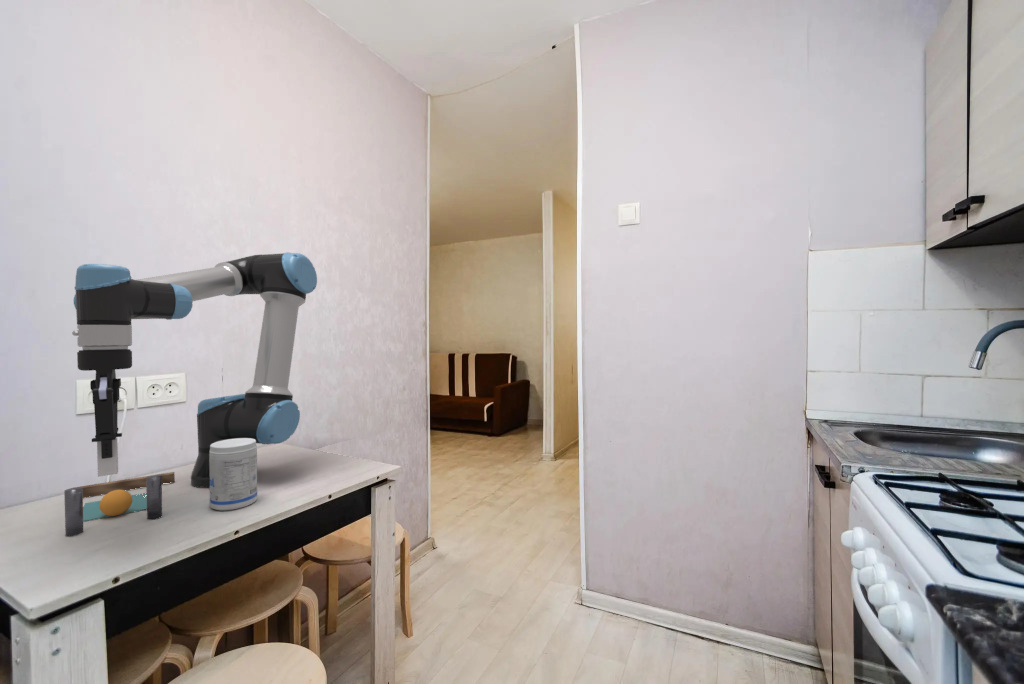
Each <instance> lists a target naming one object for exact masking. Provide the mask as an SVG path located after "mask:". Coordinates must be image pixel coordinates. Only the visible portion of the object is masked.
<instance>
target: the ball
mask: <svg viewBox="0 0 1024 684" xmlns="http://www.w3.org/2000/svg"><path fill="white" fill-rule="evenodd" d="M131 495H132V494H131V493H130V491H125V490H114V491H111V492H109V493H107V494H104V496H103V497H102V498H101V499H100V500H99V501H100V504H99V507H100V510H101V512H102V513H104V514H105V515H108V516H111V517H115V516H120V514H121V515H123V514H122V513H124V512H125V511H127V510H128V509H129V508H130V506H131V504H132V496H131Z"/></svg>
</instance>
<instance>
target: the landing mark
mask: <svg viewBox="0 0 1024 684" xmlns="http://www.w3.org/2000/svg"><path fill="white" fill-rule="evenodd" d="M142 493H143V495H142ZM142 493H138V495H137V493H136V494H131V496H132V504H131V506H130V508H129V509H128V510H127V511H125V512H124V513H122V514H121V515H125V513H126V514H131V513H135V512H134V511H137V512H140V511H139V510H142V511H145V510H144V509H147V496H146V497H145V495H147V493H146V492H142ZM145 493H146V494H145ZM139 494H140V495H139ZM136 495H137V496H136ZM143 496H144V497H145V498H144V497H143ZM100 501H101V500H97V501H92V502H91V501H90V502H86V503H84V504H83V523H85V522H88V521H89V520H90V521H94V519H95V520H99V519H98V518H100V519H105V518H109V516H108V515H105V514H104V513H102V512H101V510H100V507H99V504H100ZM130 512H131V513H130ZM104 517H105V518H104ZM84 521H85V522H84Z"/></svg>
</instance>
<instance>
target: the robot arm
mask: <svg viewBox="0 0 1024 684" xmlns="http://www.w3.org/2000/svg"><path fill="white" fill-rule="evenodd" d="M317 285H318V276H317V271H316V267H314V264H313V262H312V261H311V260H310V259H309V258H308V257H307V256H306V255H305V254H302V253H300V252H299V253H298V252H287V251H286V252H284V253H271V254H269V253H268V254H267V253H266V254H254V255H249V256H245V257H241V258H237V259H232V260H228V261H223V262H218V263H216V264H215V265H214V267H209V268H208V267H207V268H202V269H197V270H196V269H195V270H189V271H183V272H177V273H172V274H171V273H169V274H164V275H163V274H162V275H158V276H150V277H145V278H140V279H139V278H138V279H133V278H132V276H131V271H130V269H129V268H127V267H125V266H121V265H116V264H105V263H86V264H85V263H84V264H82V265H79V266H78V267H77V268H76V274H75V284H74V290H75V294H74V297H73V305H74V308H75V311H76V325H77V326H76V329H77V330H76V329H75V330H73V331H72V335H73V336H74V337H76V336H77V337H76V339H77V341H76V342H77V347H80V348H81V350H80V349H79V350H78V351H77V352H76V353H77V354H76V355H77V359H76V360H77V370H79V371H83V372H84V371H89V372H90V371H95V379H92V380H90V390H91V393H92V404H93V409H94V423H95V424H94V425H95V426H94V427H95V435H94V437H93V438H91V443H96V453H97V456H96V458H97V460H96V461H97V462H96V463H97V477H98V478H99V477H103V476H110V475H111V476H112V475H118V474H119V457H118V455H119V453H118V452H119V451H118V445H119V443H118V438H120V437H122V436H123V432H119V427H118V416H119V415H118V409H119V408H118V405H119V404H118V402H119V401H120V387H121V386H122V380H121V378H117V377H116V370H127V369H130V368H132V367H133V351H132V349H131V348H129V347H130V346H132V345H133V325H132V320H148V319H149V320H153V319H154V320H158V319H159V320H167V321H168V320H170V321H171V320H181V319H184V318H186V317H187V316H189V314H190V313H191V311H192V309H193V306H194V305H193V302H196V301H201V300H205V299H209V298H213V297H219V296H227V297H235V296H239V295H259V296H260V297H261V298H262V299H263V301H264V302H265V303H264V310H263V315H262V322H261V329H260V337H259V341H258V342H259V343H258V349H257V354H256V355H257V357H256V363H255V368H254V377H253V383H252V387H250V388H248V390H246V391H245V392H244V393H240V394H234V395H226V396H220V397H219V396H218V397H214V398H208V399H207V398H206V399H203V400H200V401H199V402H198V404H197V413H196V424H197V426H196V427H197V443H198V445H197V446H198V447H197V448H198V452H197V453H198V454H197V457H196V461H195V462H194V466H193V469H192V471H191V475H190V486H192V485H193V486H192V487H195V486H196V488H210V466H209V453H210V452H209V451H210V445H211V444H212V443H215V442H218V441H222V440H227V439H235V438H252V439H255V440H256V444H261V445H271V444H272V445H273V444H274V445H276V444H282V443H284V442H285V441H287V440H289V439H290V438H291V436H293V435H294V434H295V432H296V430H297V428H298V426H299V424H300V420H301V419H300V418H301V411H300V409H299V406H298V404H297V403H296V402H294V401H293V398H294V395H293V393H292V392H291V391H290V390H289V381H290V375H291V374H290V373H291V367H292V361H293V360H292V359H293V354H294V353H293V351H294V344H295V337H296V329H297V322H298V315H299V308H300V306H302V305H304V304H305V303H306V298H307V295H308V294H311V293H312V292H314V290H316V287H317Z"/></svg>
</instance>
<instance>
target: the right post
mask: <svg viewBox="0 0 1024 684" xmlns="http://www.w3.org/2000/svg"><path fill="white" fill-rule="evenodd" d="M147 476H148V477H146V488H145V489H146V492H145V493H147V510H146V519H154V520H157V519H156V518H158V519H160V518H162V517H163V494H162V493H163V492H162V491H163V490H162V479H161V475H157V474H152V476H151V475H147ZM161 516H162V517H161ZM159 517H160V518H159Z"/></svg>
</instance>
